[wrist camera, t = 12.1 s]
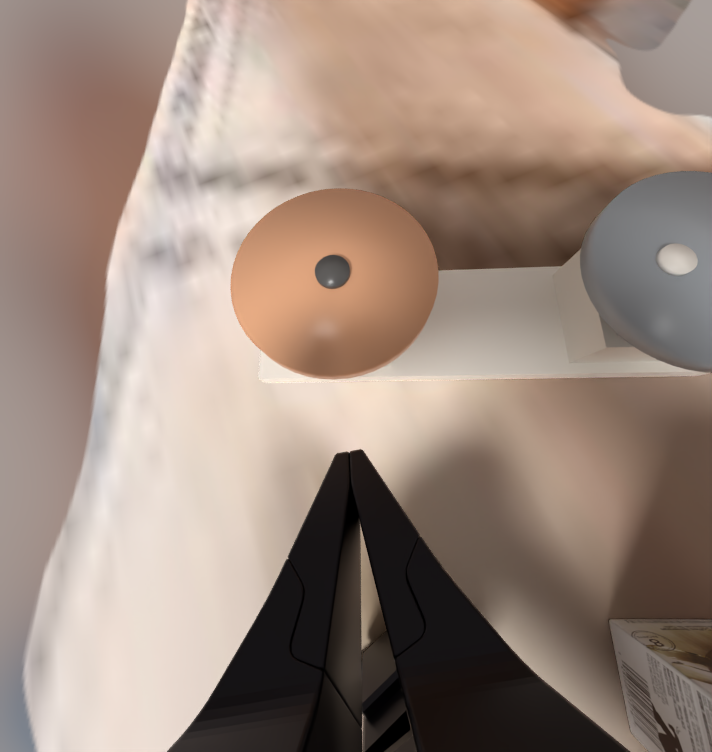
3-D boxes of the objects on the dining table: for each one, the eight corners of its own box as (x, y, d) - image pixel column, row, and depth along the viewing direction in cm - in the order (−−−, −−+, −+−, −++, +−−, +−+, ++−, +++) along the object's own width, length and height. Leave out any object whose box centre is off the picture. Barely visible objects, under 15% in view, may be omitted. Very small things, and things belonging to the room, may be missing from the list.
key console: (666, 273, 24) (739, 229, 20) (697, 376, 22) (788, 356, 17) (271, 285, 26) (249, 249, 21) (264, 382, 24) (238, 366, 19)
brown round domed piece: (416, 248, 24) (432, 179, 17) (425, 393, 21) (448, 370, 15) (272, 254, 24) (238, 189, 18) (261, 395, 21) (217, 374, 15)
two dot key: (682, 238, 23) (798, 160, 16) (731, 389, 20) (893, 363, 14) (525, 244, 23) (579, 172, 17) (549, 391, 20) (626, 367, 14)
